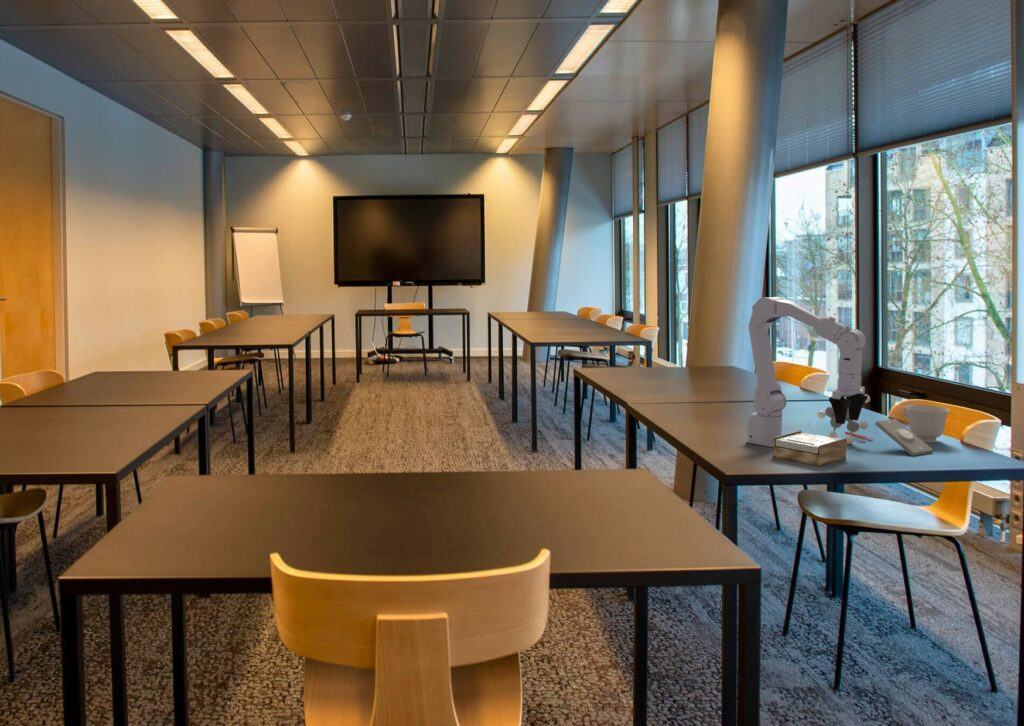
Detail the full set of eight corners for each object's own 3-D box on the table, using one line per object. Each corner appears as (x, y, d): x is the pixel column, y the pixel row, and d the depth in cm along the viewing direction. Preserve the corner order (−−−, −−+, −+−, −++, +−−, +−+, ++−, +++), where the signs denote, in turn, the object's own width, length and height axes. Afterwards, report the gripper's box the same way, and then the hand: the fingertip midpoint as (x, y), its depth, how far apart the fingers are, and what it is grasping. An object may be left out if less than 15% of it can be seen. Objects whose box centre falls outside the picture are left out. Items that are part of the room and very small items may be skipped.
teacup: (917, 433, 249) (919, 402, 247) (957, 443, 235) (959, 410, 233) (887, 436, 245) (889, 404, 244) (926, 446, 231) (928, 413, 230)
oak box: (772, 457, 219) (773, 437, 218) (799, 449, 228) (799, 430, 227) (820, 466, 208) (821, 445, 207) (845, 458, 217) (846, 438, 216)
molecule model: (887, 453, 234) (900, 402, 233) (848, 444, 228) (862, 392, 228) (838, 440, 252) (850, 392, 252) (801, 431, 246) (813, 383, 246)
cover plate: (775, 445, 218) (776, 439, 217) (802, 438, 227) (802, 432, 226) (817, 453, 208) (818, 446, 208) (843, 445, 217) (843, 439, 217)
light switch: (915, 450, 218) (877, 418, 229) (905, 466, 221) (868, 434, 232) (935, 447, 222) (897, 416, 232) (925, 463, 225) (888, 431, 235)
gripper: (851, 377, 209) (848, 427, 210) (876, 372, 218) (873, 420, 220) (826, 374, 214) (823, 423, 216) (851, 370, 223) (849, 416, 225)
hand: (847, 421), depth 218 cm, fingers open, 7 cm apart
